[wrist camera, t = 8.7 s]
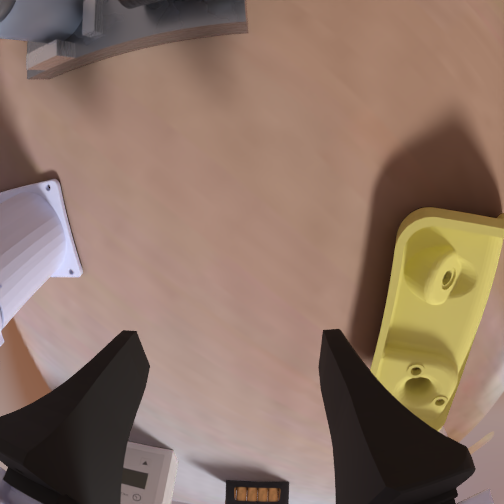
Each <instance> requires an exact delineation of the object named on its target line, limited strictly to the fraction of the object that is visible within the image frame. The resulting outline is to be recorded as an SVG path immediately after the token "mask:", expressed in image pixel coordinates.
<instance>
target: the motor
mask: <svg viewBox="0 0 504 504" xmlns="http://www.w3.org/2000/svg"><path fill="white" fill-rule="evenodd" d="M241 33H248V21H247V6H246V0H84V1H83V18H82V21H81V23H80V25H79V26H78V28H77V29H76V30H75V32H74V33H73V34H72V35H71V36H70V37H68V38H67V39H66V40H64V41H62V40H57V39H56V40H54V41H52V42H50V43H48V44H45V43H39V42H31V41H28V44H27V55H26V70H27V79H51V78H53V77H55V76H58V75H60V74H63V73H65V72H68V71H71V70H73V69H76V68H79V67H82V66H84V65H87V64H90V63H93V62H96V61H99V60H103V59H106V58H109V57H112V56H116V55H119V54H123V53H127V52H131V51H135V50H139V49H143V48H147V47H151V46H156V45H161V44H166V43H171V42H176V41H182V40H188V39H195V38H202V37H210V36H219V35H229V34H241Z"/></svg>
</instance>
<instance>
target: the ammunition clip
mask: <svg viewBox="0 0 504 504" xmlns="http://www.w3.org/2000/svg"><path fill="white" fill-rule="evenodd" d="M236 490H237V496H236ZM257 490H258V499H257ZM246 497H247V501H246ZM267 499H268V501H267ZM288 499H289V482H247V481H230V480H227V481H226V500H225V504H288Z"/></svg>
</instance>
